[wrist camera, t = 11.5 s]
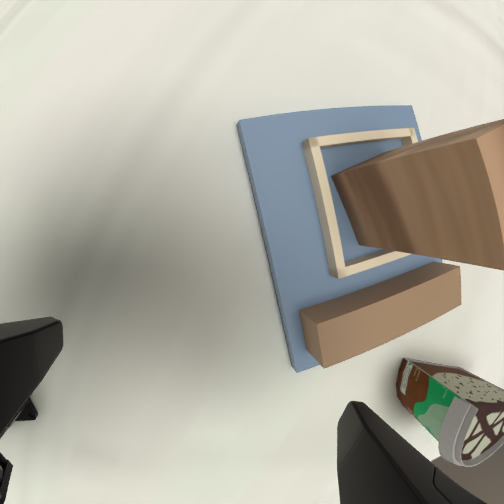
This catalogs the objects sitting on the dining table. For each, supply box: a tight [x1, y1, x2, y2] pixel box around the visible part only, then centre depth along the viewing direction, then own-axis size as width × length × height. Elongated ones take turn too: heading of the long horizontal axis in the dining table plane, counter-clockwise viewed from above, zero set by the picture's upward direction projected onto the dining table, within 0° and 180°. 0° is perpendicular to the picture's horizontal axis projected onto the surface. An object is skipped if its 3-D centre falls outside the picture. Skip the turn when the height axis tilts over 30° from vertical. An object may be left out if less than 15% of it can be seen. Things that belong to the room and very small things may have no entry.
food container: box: [396, 358, 504, 467], centre depth 20 cm, size 12×6×10 cm, turn 70°
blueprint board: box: [237, 106, 461, 373], centre depth 19 cm, size 14×17×4 cm
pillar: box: [331, 119, 504, 270], centre depth 14 cm, size 5×5×12 cm
